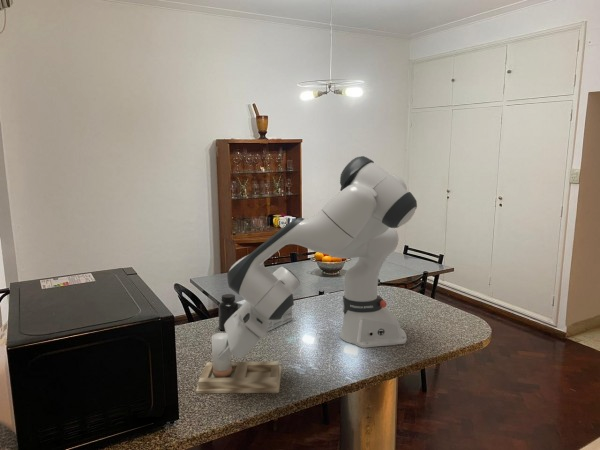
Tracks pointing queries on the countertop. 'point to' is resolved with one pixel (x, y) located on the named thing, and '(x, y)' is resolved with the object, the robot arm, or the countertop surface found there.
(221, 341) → the white dome lamp
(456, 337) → the countertop surface
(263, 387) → the two-pocket rack
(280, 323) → the supplement box
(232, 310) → the supplement bottle
